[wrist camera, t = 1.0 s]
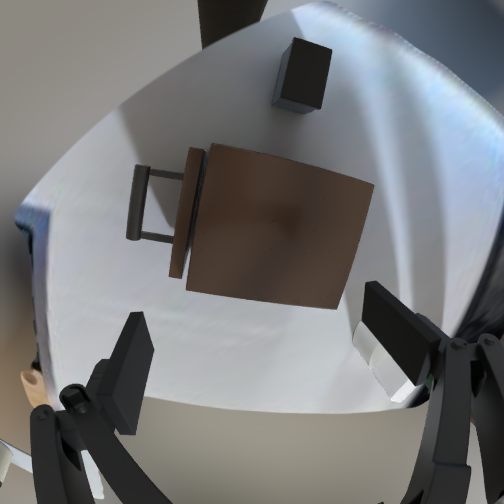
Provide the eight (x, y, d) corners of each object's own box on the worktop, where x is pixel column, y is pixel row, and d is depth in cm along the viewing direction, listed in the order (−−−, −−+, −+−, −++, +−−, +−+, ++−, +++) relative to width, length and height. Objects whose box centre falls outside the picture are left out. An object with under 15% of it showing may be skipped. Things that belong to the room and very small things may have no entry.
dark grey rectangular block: (269, 106, 29) (280, 97, 24) (282, 52, 27) (294, 36, 22) (305, 115, 30) (321, 109, 25) (316, 63, 28) (332, 49, 23)
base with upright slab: (376, 359, 43) (410, 406, 32) (341, 343, 41) (375, 396, 30) (409, 318, 42) (452, 359, 30) (378, 296, 39) (425, 340, 28)
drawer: (137, 243, 32) (116, 267, 24) (151, 143, 28) (132, 139, 21) (290, 268, 35) (310, 298, 28) (314, 175, 32) (343, 181, 24)
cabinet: (192, 255, 34) (185, 290, 25) (212, 147, 30) (211, 142, 21) (308, 273, 36) (336, 310, 27) (334, 176, 33) (375, 184, 24)
